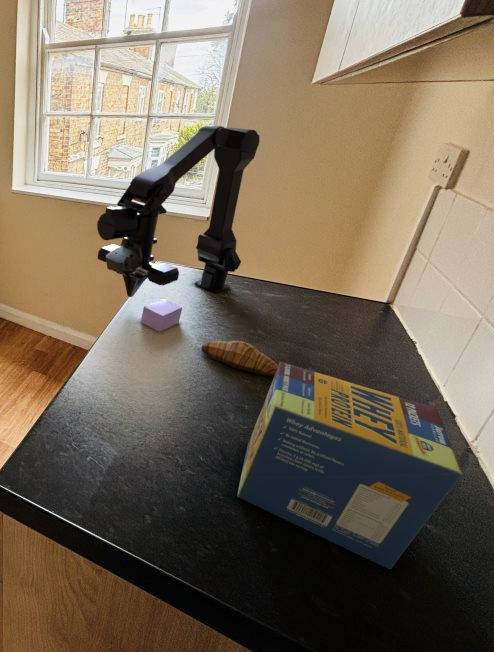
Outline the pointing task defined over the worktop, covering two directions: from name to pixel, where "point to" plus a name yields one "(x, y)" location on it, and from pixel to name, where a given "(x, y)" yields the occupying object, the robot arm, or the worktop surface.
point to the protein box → (348, 462)
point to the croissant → (240, 356)
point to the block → (161, 315)
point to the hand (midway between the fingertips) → (130, 296)
